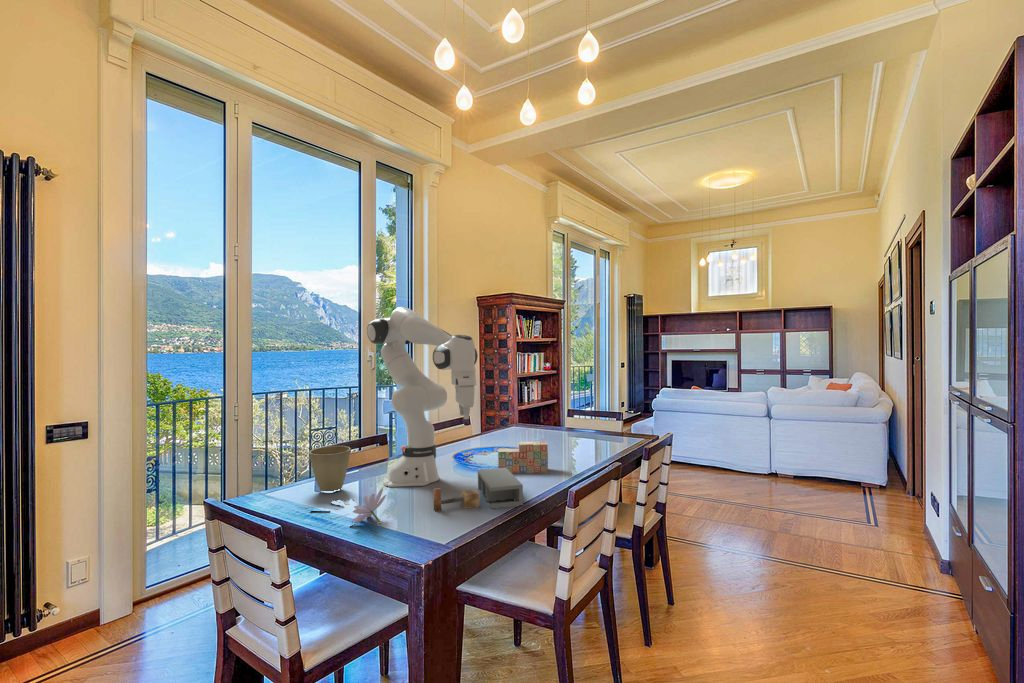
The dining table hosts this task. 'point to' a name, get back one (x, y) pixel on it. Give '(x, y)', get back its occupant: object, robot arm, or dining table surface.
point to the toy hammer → (456, 499)
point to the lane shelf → (500, 487)
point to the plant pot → (330, 466)
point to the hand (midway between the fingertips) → (464, 417)
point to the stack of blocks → (525, 458)
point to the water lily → (368, 507)
